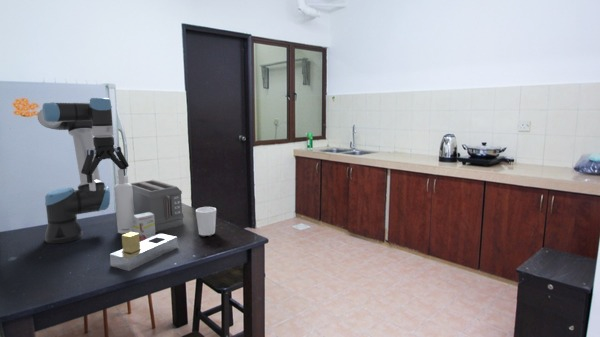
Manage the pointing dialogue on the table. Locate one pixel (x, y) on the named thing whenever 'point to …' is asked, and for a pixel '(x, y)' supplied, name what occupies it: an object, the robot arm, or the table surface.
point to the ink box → (144, 225)
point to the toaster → (158, 203)
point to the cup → (206, 220)
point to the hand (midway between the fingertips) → (107, 187)
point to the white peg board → (144, 252)
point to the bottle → (124, 206)
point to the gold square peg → (131, 243)
